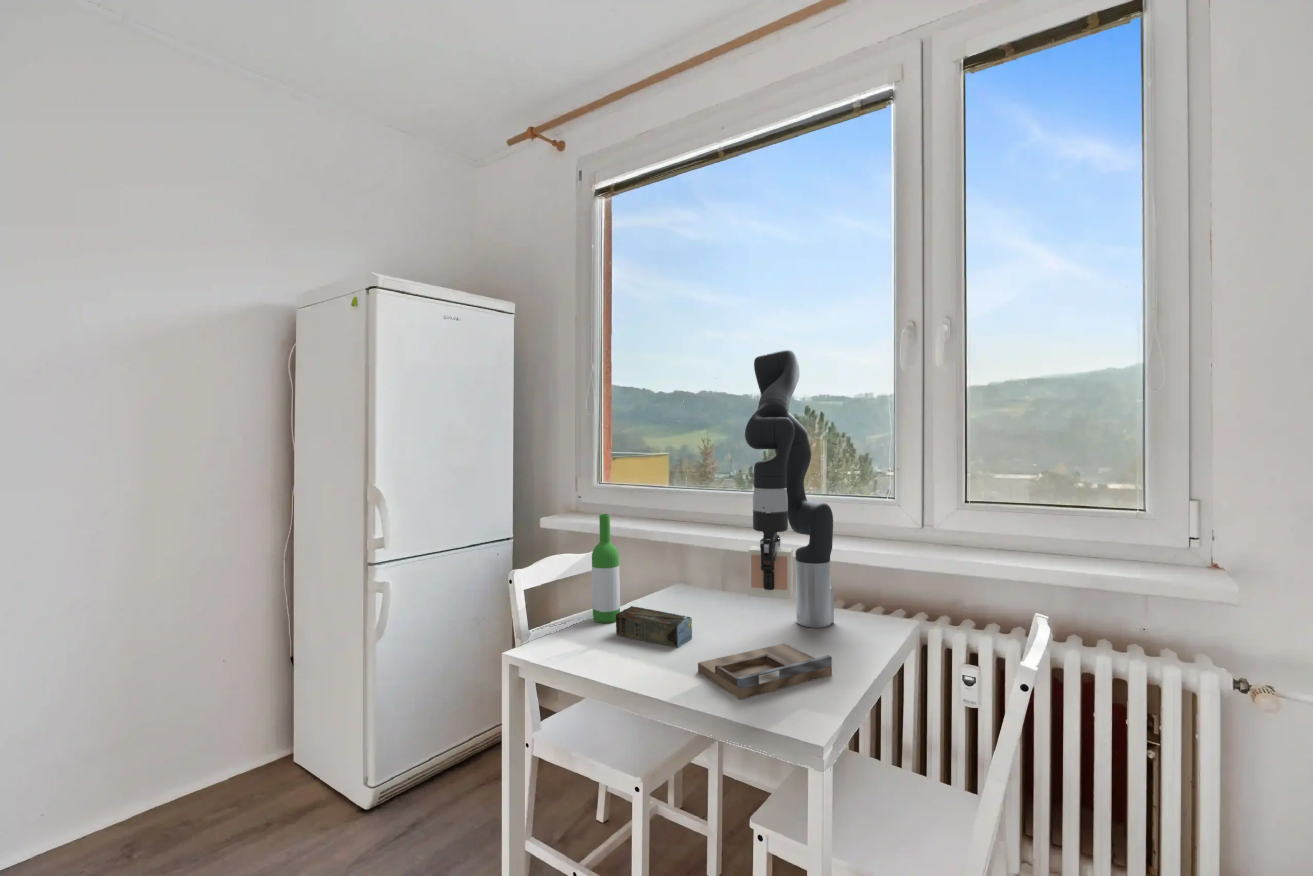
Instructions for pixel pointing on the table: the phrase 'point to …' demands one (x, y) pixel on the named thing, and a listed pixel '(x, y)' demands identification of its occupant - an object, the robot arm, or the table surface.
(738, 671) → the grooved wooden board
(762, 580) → the tea box
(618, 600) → the wine bottle
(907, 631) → the table surface
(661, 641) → the beverage carton
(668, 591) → the table surface
